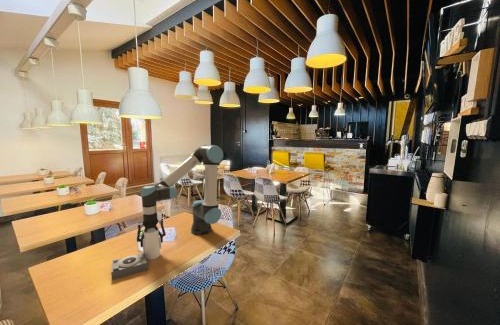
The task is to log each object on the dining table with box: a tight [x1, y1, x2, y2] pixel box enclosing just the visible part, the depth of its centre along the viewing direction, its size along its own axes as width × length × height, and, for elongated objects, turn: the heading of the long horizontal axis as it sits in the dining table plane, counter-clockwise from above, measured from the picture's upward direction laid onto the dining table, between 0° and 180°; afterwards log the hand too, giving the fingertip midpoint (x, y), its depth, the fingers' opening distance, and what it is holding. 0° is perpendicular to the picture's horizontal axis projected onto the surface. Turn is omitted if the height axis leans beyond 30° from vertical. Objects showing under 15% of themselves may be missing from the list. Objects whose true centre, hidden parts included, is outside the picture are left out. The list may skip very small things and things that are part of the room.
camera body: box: [110, 252, 148, 281], centre depth 116 cm, size 16×12×5 cm
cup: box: [142, 228, 161, 260], centre depth 129 cm, size 8×8×16 cm
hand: (152, 249), depth 129 cm, fingers closed on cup, 8 cm apart
